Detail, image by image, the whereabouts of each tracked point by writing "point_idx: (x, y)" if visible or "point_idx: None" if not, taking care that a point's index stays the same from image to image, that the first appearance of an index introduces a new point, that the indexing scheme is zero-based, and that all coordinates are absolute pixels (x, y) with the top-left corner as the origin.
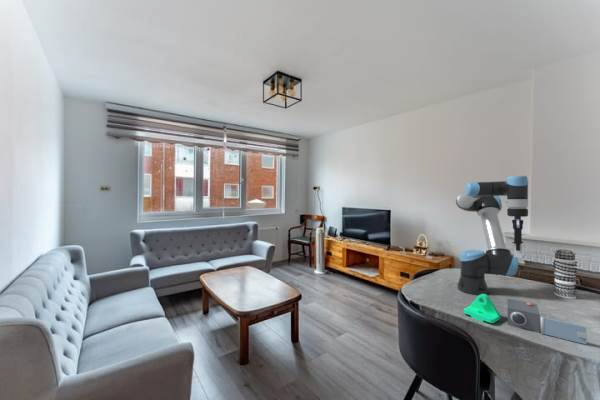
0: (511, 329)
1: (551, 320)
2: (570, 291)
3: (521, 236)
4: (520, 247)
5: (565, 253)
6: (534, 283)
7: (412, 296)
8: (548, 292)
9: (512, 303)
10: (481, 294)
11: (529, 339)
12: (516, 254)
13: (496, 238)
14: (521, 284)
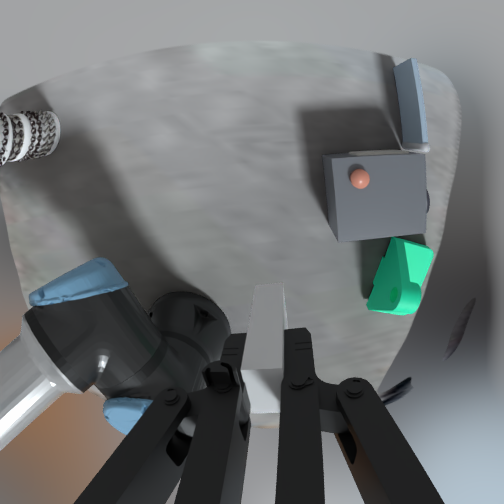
0: None
1: (426, 127)
2: (42, 119)
3: (411, 452)
4: (283, 346)
5: None
6: (13, 208)
7: None
8: (47, 167)
9: (380, 224)
10: (404, 309)
11: (450, 172)
12: (286, 324)
13: (17, 401)
14: (38, 231)
